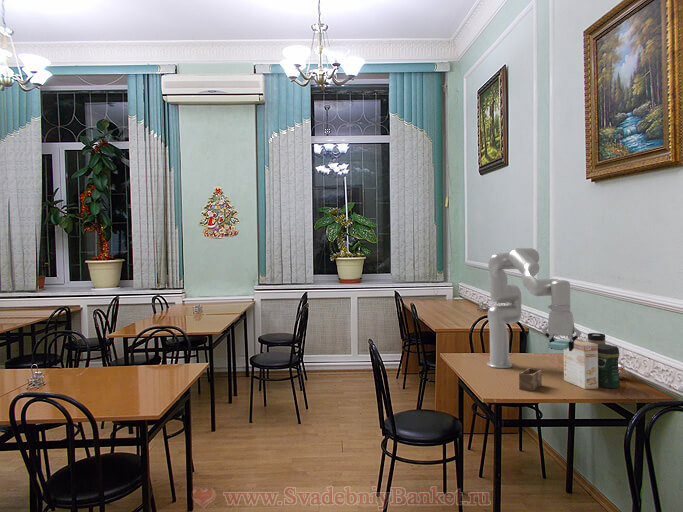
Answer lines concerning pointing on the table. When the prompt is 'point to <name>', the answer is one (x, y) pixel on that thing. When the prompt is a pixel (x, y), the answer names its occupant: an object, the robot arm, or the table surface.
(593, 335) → the travel mug
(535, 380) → the tea box
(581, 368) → the coffeecake box
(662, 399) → the table surface
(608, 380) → the coffee jar
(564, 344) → the lid
